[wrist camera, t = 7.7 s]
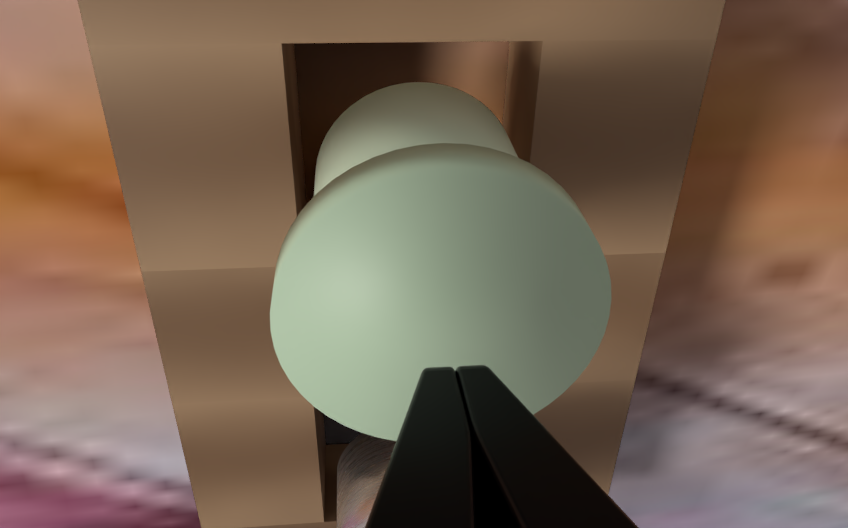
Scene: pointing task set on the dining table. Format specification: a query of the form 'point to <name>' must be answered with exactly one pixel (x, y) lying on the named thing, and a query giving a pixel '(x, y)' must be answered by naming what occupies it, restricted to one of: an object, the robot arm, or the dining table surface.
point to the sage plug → (432, 263)
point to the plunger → (360, 478)
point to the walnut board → (286, 196)
